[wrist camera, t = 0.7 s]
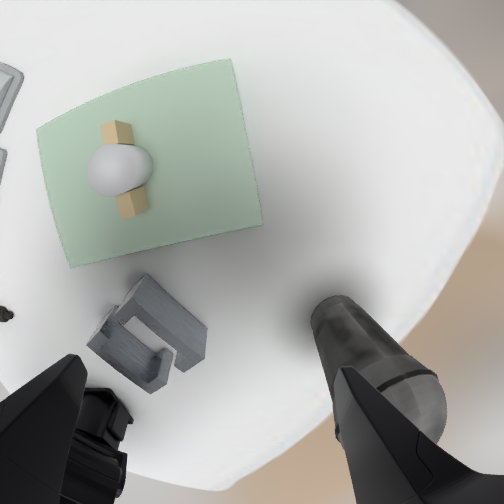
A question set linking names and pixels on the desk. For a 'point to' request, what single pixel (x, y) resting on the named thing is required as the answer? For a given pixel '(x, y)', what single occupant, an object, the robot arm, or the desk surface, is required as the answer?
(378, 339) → the beverage cup
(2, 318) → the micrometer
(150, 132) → the keyed post stand
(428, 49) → the desk surface
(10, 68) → the office telephone
